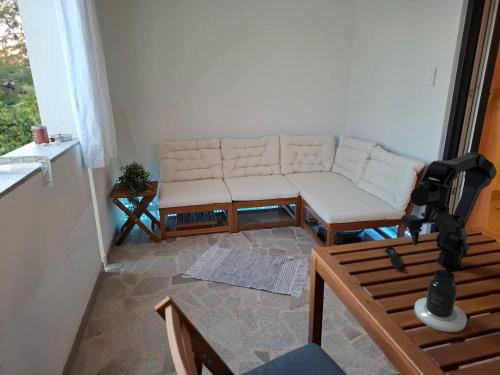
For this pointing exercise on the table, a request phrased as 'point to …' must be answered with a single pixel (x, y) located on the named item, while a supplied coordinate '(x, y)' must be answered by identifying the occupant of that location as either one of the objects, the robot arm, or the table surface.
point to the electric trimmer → (394, 258)
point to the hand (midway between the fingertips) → (428, 245)
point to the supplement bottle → (441, 294)
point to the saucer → (440, 318)
